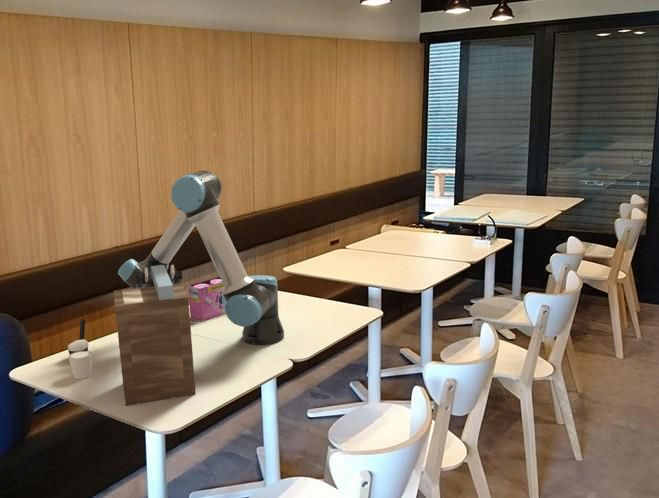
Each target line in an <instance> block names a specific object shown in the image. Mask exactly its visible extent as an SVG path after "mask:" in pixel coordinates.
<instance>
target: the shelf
mask: <svg viewBox="0 0 659 498" xmlns="http://www.w3.org/2000/svg"><path fill="white" fill-rule="evenodd" d="M172 285H173V294H174V299H168V300H159V297H158V294H157V291H156V288H155V286H152V287H143V288H135V289H132V288H126V289H119V290H113V299H114V308H115V318H116V327H117V330H116V331H117V339H118V348H119V357H120V368H121V376H122V378H121V379H122V387H123V394H124V395H123V396H124V405H125V407H126V406H133V405H139V404H146V403H150V402H157V401H164V400H170V399H174V398H181V397H188V396H192V395H197V394H196V381H195V369H194V368H195V367H194V353H193V343H192V342H193V341H192V331H191V330H192V329H191V328H192V327H191V317H190V305H189V295H188V293H187V292H186V289H185V288H184V286H183V284H182V283H181V282H180V283H179V284H172Z"/></svg>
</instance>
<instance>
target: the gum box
mask: <svg viewBox="0 0 659 498" xmlns="http://www.w3.org/2000/svg"><path fill="white" fill-rule="evenodd" d="M224 288H225V287H224V284H223V282H222V280H221V278H220V276H219V275H218V276H216V277H213V278H209V279H206V280H203V281H198V282H195V283H192V284H188V285H187V289H188V291H187V292H188V299H189V313H190V319H191V318H192V319H194V320H198V321H201V322H203V321H206V320H210V319H213V318H216V317H218V316H221V315H224V314H226V312H225V307H226V299H225V297H224V295H223V291H224Z"/></svg>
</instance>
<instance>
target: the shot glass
mask: <svg viewBox="0 0 659 498" xmlns="http://www.w3.org/2000/svg"><path fill="white" fill-rule="evenodd" d="M68 360H69V366H70V369H71V374H72V377H73V379H75V380H76V379H77V380H80V379H86V378H88V377H91V376H92V368H93V367H92V352H91V351H89V350H88V351H79V352H75V353H72V354H69V355H68Z"/></svg>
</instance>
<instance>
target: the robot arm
mask: <svg viewBox="0 0 659 498" xmlns="http://www.w3.org/2000/svg"><path fill="white" fill-rule="evenodd" d="M222 190H223V184H222V181H221V179H220V178H219V177H218V176H217V174H215V173H214V172H212V171H209V170H199V171H197V172H192V173H191V172H190V173H187V174H185V175H183V176H181V177H179V178H177V180H176V181H175V182H174V183H173V184H172V186H171V191H170V198H171V201H172V203H173V205H174V206H175V207H176V209H178V210H179V211H178V213H177V214H176V216H175V217H174V218H173V220H172V221H171V223H170V224H169V225H168V227H167V229H166V230H165V232H164V233H163V234H162V235H161V237H160V239H158V240H159V241H157V243H156V245H155V246H154V248H153V249H152V250H151V252H150V253H149V255H148V256H147V257H146V259H144V260H142V261H140V262H138V261H136V260H135V259H133V258H130V259H128V260H126V261H125V262H124V263H123V264H122V265H121V266H120V267H119V269H118V270H117V274H118V276H120V278H121V279H122V280H123V282H125V284H127V285H128V286H129V287H130V289H135V288H143V287H152V286H155V285H154V282H153V279H152V271H151V266H159V265H164V266H165V268H166V271H167V272H168V269H169V265H170V262H171V261H172V260H173V258H174V256H175V255H176V254H177V252H178V251H179V249H180V248H181V246H182V245H183V244H184V242H185V241H186V240H187V238H188V237H189V235H190V234H191V232H192V231H193V230H194V228H195V227H196V229H197V231H198V234H199V236H200V237H201V239H202V242H203V244H204V247H205V249H206V250H207V252H208V255H209V256H210V258H211V259H210V260H211V261H212V263H213V265H214V267H215V270H216V272H217V274H218V277H219V276H220V278H221V280H222V282H223V284H224V287H225V288H224V291H223V295H224V297H225V299H226V307H225V312H226V313H225V314H226V317H227V318H228V320H229V321H230V322H231V323H232V324H234V325H236V326H239V327H242V328H243V330H242V333H241V334H242V340H243V341H244V342H245V343H247V344H251V345H259V346H260V345H261V346H262V345H270V344H276V343H279V342H280V341H283V339H284V338H285V330H284V327H283V324H282V322H281V318H280V317H279V316H280V315H279V296H278V295H279V294H278V293H279V292H278V287H279V285H278V280H277V278H276V277H275V276H272V275H267V274H266V275H263V274H262V275H258V274H256V275H248V274H247V271H246V269H245V267H244V265H243V263H242V260H241V259H240V256H239V254H238V251H237V249H236V248H235V246H234V243H233V241H232V239H231V237H230V235H229V232H228V230H227V227H225V226H226V225H225V224H224V222H223V219H222V218H221V215H220V213H219V209H220V208H221V207H220V206H221V205H220V203H219V199H220V197H221V195H222V193H223V192H222ZM168 275H169V278H170V280H171V282H172V284H179V283H181V281H182V280H183V279H184V278H183V271H182V270H178V269H176V268H175V264H171V265H170V270H169V273H168Z"/></svg>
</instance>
